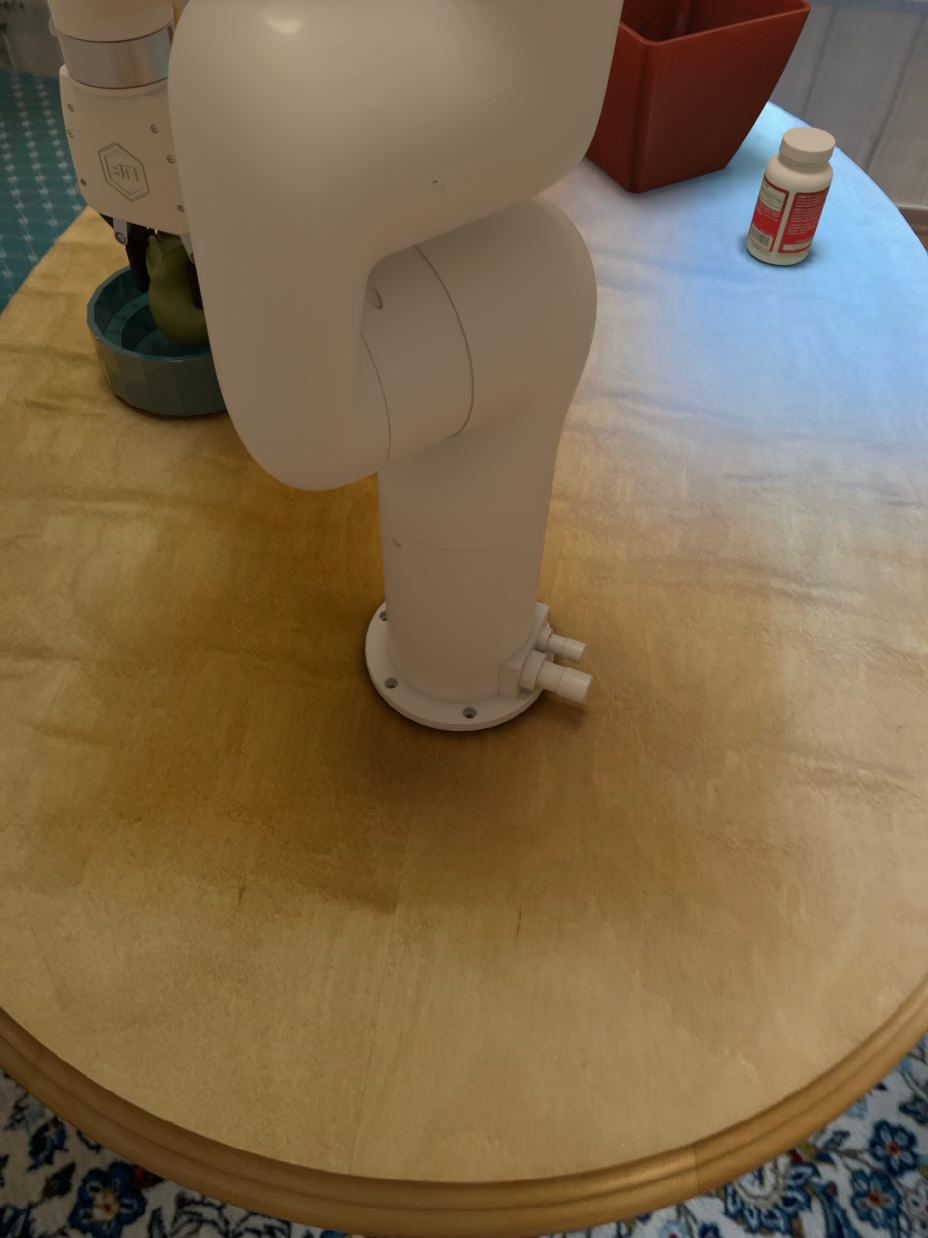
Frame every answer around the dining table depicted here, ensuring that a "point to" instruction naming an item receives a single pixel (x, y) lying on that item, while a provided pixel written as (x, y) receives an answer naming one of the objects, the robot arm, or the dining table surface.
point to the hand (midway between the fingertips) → (180, 289)
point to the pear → (173, 293)
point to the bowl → (148, 354)
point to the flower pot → (689, 85)
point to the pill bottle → (792, 197)
